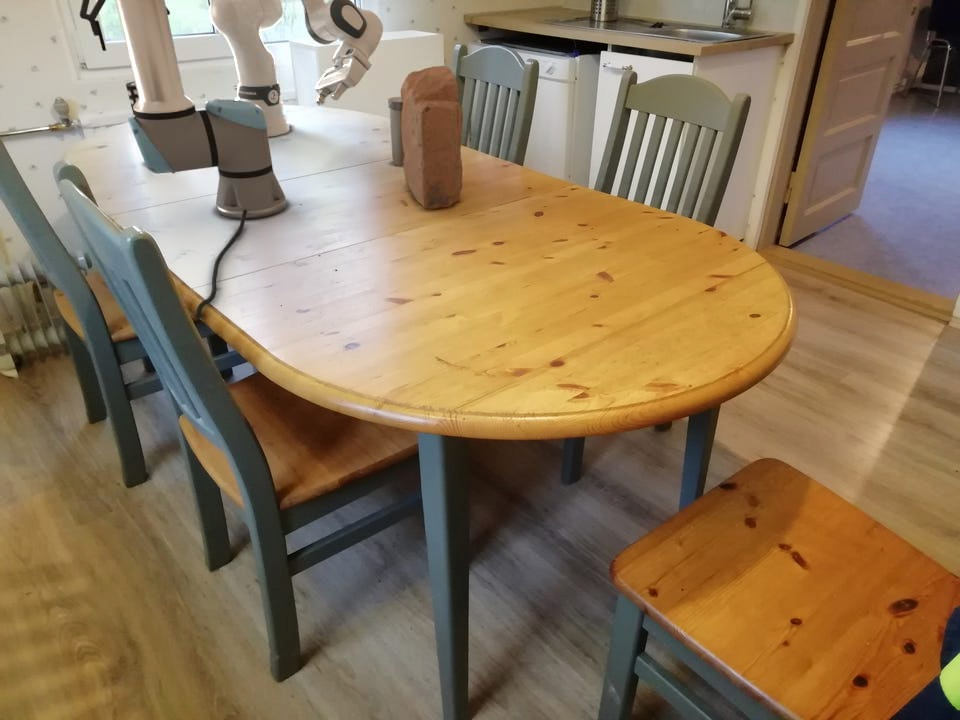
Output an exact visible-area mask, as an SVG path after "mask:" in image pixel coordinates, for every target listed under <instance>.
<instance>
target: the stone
mask: <svg viewBox="0 0 960 720" xmlns="http://www.w3.org/2000/svg"><path fill="white" fill-rule="evenodd" d="M400 97H401V98H402V101H403V108H402V124H401V131H402V144H403V151H404V154H405V157H404V160H403V163H404V166H403V173H404V179H405V182H406V186H407V187H408V188H409V190H410V192H411V193H412V194H413V196H414V198H415V200H416V201H417V202H418V204H420V205H422V206H421V207H423V208H424V209H427V210H428V209H429V210H434V209H437V208H439V209H440V208H448V207H451V206H452V205H454V204H455V203H457V202H458V201H459V200H460V197H461V192H462V188H463V160H462V152H461V148H462V133H463V132H462V131H463V121H464V107H463V106H461V105H460V101H459V98H460V97H459V86H458V82H457V78H456V75H455V74H454V73H453V71H452V69H450V68H449V66H446V65H435V66H431V67H426V68H423V69H421V70H415V71H414V70H413V71H411V72H410V73H408V75H407V76H406V77H405V79H404V81H403V83H402V85H401V87H400Z"/></svg>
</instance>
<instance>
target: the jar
mask: <svg viewBox="0 0 960 720" xmlns="http://www.w3.org/2000/svg"><path fill="white" fill-rule="evenodd" d="M389 121H390V122H389V123H390V140H391V142H390V143H391V157H392V165H394V166H397V167H404V163H403V160H404V157H405V154H404V151H403V144H402V131H401V124H402V110H394V109H390V108H389Z"/></svg>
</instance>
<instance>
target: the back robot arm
mask: <svg viewBox="0 0 960 720" xmlns="http://www.w3.org/2000/svg"><path fill="white" fill-rule="evenodd" d="M300 1H301V5H302V7H303V13H304V22H305V28H306V30H307V33H308V34H309V36H310V37H311V38H312V39H313V40H314V41H315V42H316V43H318V44H320V45H324V46H325V45H330V44H332V43H334V42H335V41H337V40H339V41H340V45H339V46H338V48H337V50H336V51H335V53H334V55H333V57H332V63H333V67H331V68H329V69H327V70H326V71H325V73H323V75H321V78H320V79H319V81H318V82H317V84H316V85H315V89H314V90H315V91H316V93H317V94H318V95H317V99H316V100H315V104H316V105H317V106H318V107H321V106H323V105H324V104H325V102H326V98H327V97H330V98H331V99H332V100H333V101H335V102H336V101H339V100H340V98H341V97H342V95H343V94H344V93H345V92H346V91H347V90H349V89H352V88H355V87H356V86H357V85H358V84H359V83H360V82H361V80H362V79H363V77H364V76H365V74H366V73H367V71H369V70H370V69H371V68H372V65H373V64H372V63H371V62H370V61H369V59H370V57H371V56H372V55H374V53H375V51H376V49H377V47H378V46H379V44H380V42H381V39H382V36H383V33H384V25H383V22H382V20H381V18H380V17H379V16H378V15H377V14H376V13H375V12H374V11H371V10H367V9H363V8H360V7H358V6H357V5H356V4H355V3H354V2H353V1H352V0H328V1H327V2H325V0H300ZM283 9H284V8H283V4H282V1H281V0H211V2H210V4H209V10H208V12H209V18H210V21H211V23H212V25H213V27H214V28H215V29H216V30H217V31H218V32H219V33H220V34H221V35H222V36H223V37H224V39H225V40H226V42H227V43H228V45H229V47H230V50H231V52H232V55H233V58H234V63H235V68H236V73H237V78H238V84H236V85H233V87H235V88H234V90H235V91H237V92H236V96H237V97H235V99H234V100H239V101H245V102H250V103H253V104H256V105H257V106H259V107H260V108H261V109H262V110H263V112H264V116H265V121H266V125H267V127H268V129H267V133H268V138H269V137H270V138H271V137H277V136H281V135H284V134H287V133H288V132H290V130H291V129H290V127H291V124H290V122H289V121H288V118H287V114H286V111H287V107H286V105H284V102H283V99H281V95H282V94H281V86H280V82H279V81H278V77H277V69H276V62H275V57H274V54H273V53H272V51H271V50H269V49H268V48H267V47H266V45H265V43H264V41H263V39H262V36H261V32H262V31H267V30H270V29H272V28H274V27H275V26H276V25H277V24H278V23H280V21H281V20H282V18H283V14H284V13H283V12H284V10H283ZM218 99H219V98H214V99H213V100H218Z"/></svg>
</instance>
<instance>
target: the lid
mask: <svg viewBox="0 0 960 720" xmlns="http://www.w3.org/2000/svg"><path fill="white" fill-rule="evenodd" d="M387 107H388V109H389V110H390V109H394V110H402V108H403V101H402V98H401V96H394V97H389V98H388V99H387Z"/></svg>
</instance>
